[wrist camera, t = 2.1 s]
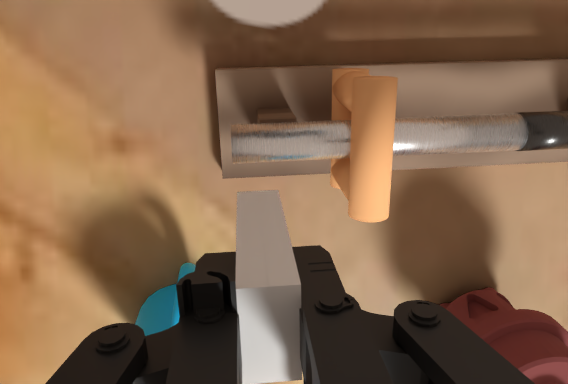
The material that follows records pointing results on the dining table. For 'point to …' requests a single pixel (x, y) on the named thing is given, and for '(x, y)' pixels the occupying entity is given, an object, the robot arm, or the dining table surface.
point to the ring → (365, 140)
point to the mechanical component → (516, 334)
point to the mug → (162, 307)
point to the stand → (410, 103)
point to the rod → (402, 136)
